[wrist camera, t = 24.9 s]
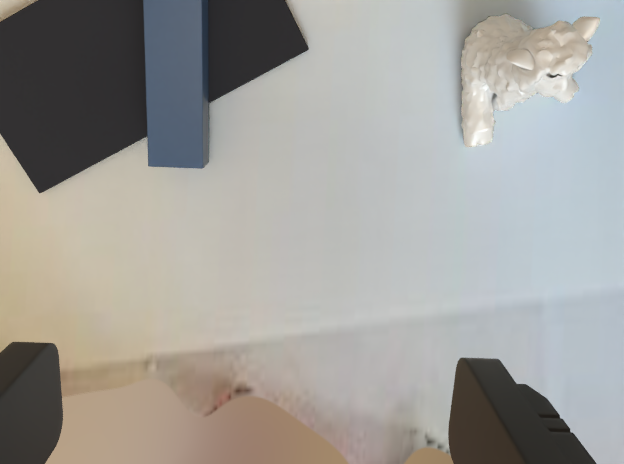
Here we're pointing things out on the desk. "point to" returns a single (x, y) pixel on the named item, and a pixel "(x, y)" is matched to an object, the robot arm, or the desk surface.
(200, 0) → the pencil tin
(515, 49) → the sitting furry creature
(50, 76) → the mat
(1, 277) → the desk surface
